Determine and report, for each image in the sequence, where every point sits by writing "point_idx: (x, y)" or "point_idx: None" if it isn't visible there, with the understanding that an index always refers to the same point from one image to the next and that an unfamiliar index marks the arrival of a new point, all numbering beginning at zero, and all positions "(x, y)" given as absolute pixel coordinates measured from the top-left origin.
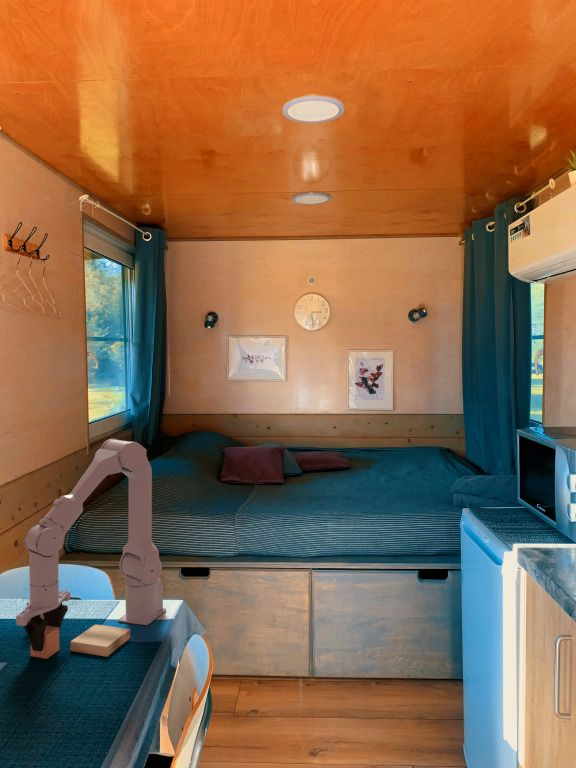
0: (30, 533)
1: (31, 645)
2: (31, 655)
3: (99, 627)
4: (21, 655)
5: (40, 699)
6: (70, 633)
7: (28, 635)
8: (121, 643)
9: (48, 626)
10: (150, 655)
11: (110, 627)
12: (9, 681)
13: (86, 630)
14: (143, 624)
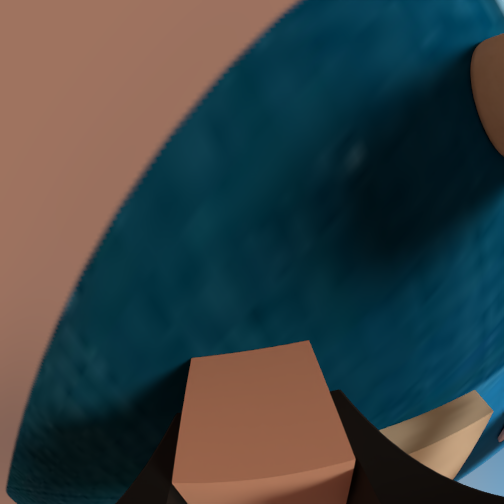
0: None
1: (166, 434)
2: (192, 364)
3: (466, 442)
4: (165, 305)
5: (75, 498)
6: (473, 316)
7: (131, 491)
8: None
9: (335, 492)
10: None
11: (462, 459)
12: (32, 413)
13: (444, 438)
14: (500, 435)
